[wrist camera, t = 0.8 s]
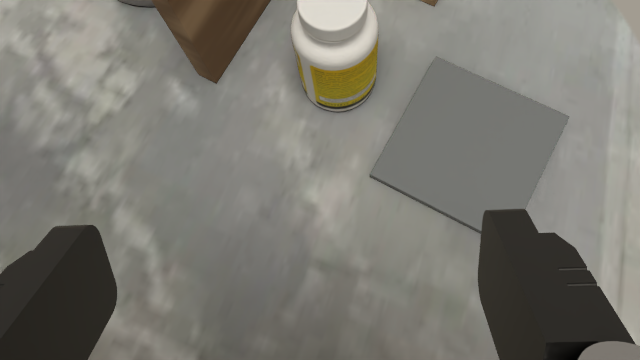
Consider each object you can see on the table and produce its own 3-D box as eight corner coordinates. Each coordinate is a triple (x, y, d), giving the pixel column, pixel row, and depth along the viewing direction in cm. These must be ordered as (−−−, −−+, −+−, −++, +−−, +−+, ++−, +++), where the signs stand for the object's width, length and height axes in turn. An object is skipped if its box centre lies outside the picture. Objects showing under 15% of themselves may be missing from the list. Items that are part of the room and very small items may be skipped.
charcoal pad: (369, 176, 37) (370, 174, 37) (434, 60, 39) (435, 56, 39) (505, 246, 35) (507, 244, 35) (566, 119, 37) (569, 116, 37)
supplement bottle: (391, 79, 39) (400, -1, 30) (336, 128, 38) (328, 62, 29) (340, 32, 40) (334, -58, 31) (286, 78, 40) (263, 0, 30)
